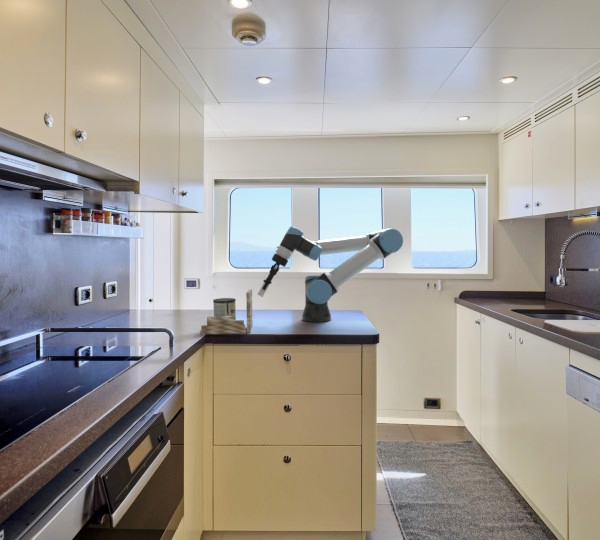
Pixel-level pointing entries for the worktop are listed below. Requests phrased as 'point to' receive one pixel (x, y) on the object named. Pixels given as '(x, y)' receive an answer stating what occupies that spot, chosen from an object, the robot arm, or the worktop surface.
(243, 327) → the offcut stack
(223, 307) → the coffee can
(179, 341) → the worktop surface
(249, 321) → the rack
